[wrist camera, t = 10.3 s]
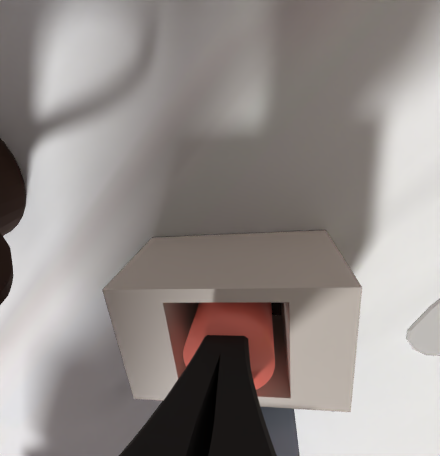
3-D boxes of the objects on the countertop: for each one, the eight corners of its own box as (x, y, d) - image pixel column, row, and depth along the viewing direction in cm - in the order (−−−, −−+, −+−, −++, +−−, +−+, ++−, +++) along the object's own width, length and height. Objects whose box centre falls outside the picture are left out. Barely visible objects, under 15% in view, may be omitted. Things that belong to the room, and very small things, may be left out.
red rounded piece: (207, 324, 13) (189, 391, 10) (199, 268, 12) (176, 322, 9) (271, 325, 12) (276, 396, 9) (269, 266, 11) (273, 323, 8)
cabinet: (169, 321, 15) (133, 398, 11) (152, 237, 13) (102, 289, 9) (322, 323, 14) (350, 411, 9) (326, 230, 12) (361, 287, 8)
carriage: (213, 411, 16) (191, 542, 11) (202, 346, 15) (172, 465, 9) (288, 416, 16) (301, 558, 10) (286, 348, 14) (302, 478, 9)
